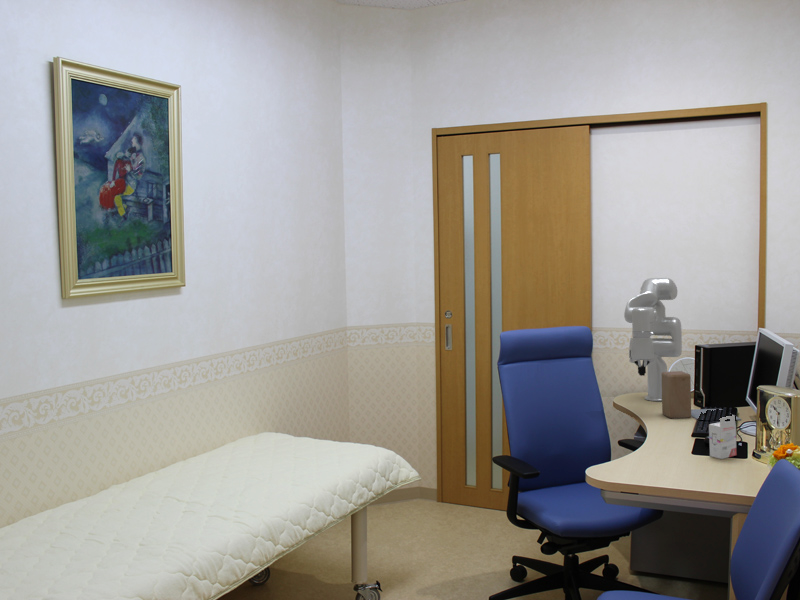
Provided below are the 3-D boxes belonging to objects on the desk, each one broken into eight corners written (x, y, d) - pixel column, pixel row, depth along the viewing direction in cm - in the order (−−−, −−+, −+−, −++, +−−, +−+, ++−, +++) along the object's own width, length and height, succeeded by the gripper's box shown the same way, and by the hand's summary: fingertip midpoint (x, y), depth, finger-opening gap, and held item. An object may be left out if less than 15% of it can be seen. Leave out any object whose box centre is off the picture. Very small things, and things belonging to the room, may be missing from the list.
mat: (681, 410, 315) (681, 409, 315) (720, 410, 314) (720, 408, 314) (699, 421, 293) (699, 419, 293) (741, 420, 292) (741, 419, 292)
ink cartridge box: (724, 452, 244) (724, 412, 243) (737, 455, 239) (736, 414, 239) (708, 456, 240) (708, 415, 239) (721, 459, 235) (720, 418, 235)
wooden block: (692, 418, 300) (691, 373, 299) (669, 418, 300) (668, 374, 299) (683, 413, 310) (682, 370, 309) (661, 414, 310) (660, 371, 309)
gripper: (655, 334, 308) (656, 373, 308) (622, 334, 309) (623, 374, 309) (660, 335, 300) (661, 376, 300) (626, 336, 301) (627, 376, 301)
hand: (641, 375), depth 305 cm, fingers closed
